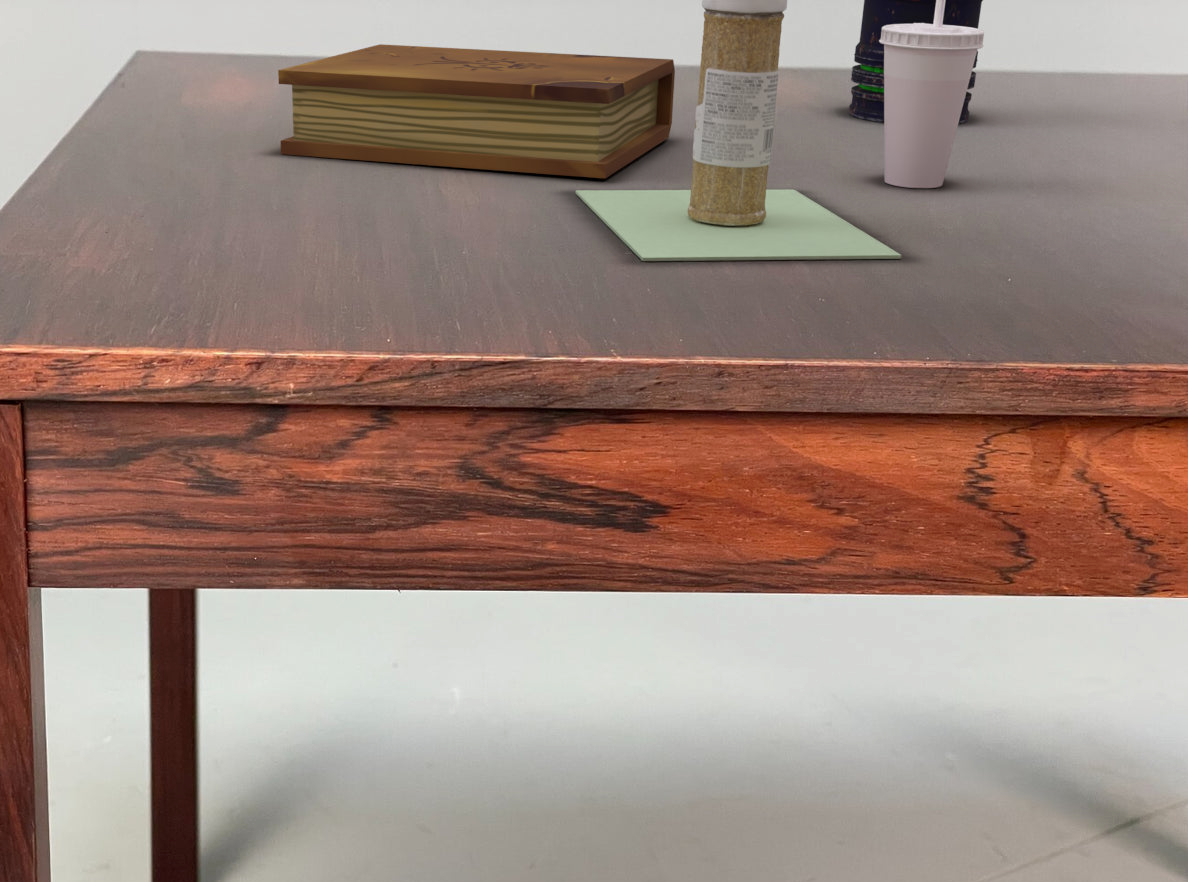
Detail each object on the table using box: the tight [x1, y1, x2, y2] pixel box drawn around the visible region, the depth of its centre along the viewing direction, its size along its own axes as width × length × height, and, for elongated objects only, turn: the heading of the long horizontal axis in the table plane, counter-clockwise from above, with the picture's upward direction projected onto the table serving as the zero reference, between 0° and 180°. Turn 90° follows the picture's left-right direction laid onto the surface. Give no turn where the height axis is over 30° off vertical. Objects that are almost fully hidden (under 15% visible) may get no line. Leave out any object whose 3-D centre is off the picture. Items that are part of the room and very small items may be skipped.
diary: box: [277, 43, 676, 179], centre depth 115 cm, size 23×19×6 cm
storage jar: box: [848, 0, 984, 124], centre depth 131 cm, size 10×10×15 cm
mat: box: [575, 189, 902, 262], centre depth 93 cm, size 18×14×1 cm
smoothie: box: [879, 0, 985, 189], centre depth 103 cm, size 6×6×14 cm
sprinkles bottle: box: [688, 0, 788, 226], centre depth 90 cm, size 5×5×14 cm
